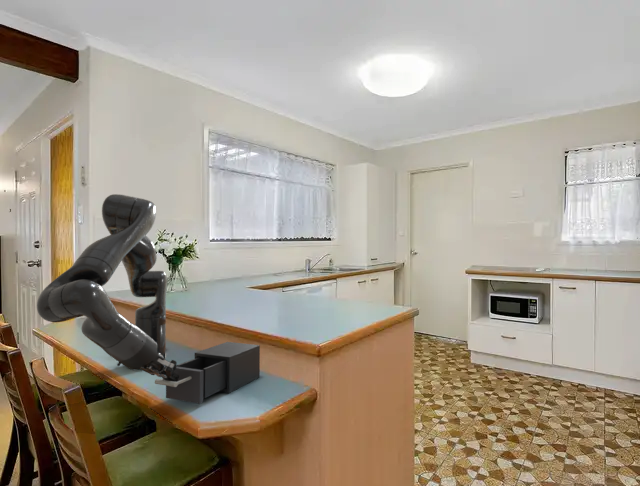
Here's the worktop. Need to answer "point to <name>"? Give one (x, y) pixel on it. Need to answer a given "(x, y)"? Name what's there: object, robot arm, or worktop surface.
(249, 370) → the dark grey drawer box
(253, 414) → the worktop surface
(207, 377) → the dark grey drawer
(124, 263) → the robot arm
